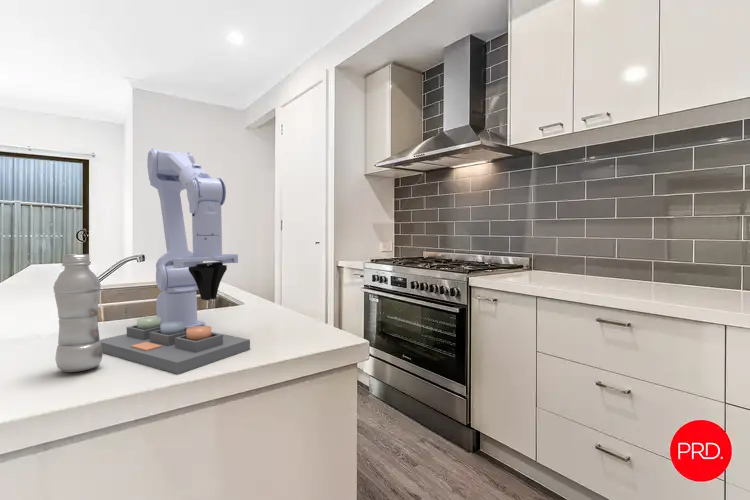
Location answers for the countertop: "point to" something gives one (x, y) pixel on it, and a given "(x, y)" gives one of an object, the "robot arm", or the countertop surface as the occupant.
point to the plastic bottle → (77, 315)
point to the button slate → (172, 327)
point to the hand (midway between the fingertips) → (208, 299)
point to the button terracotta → (198, 333)
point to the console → (172, 348)
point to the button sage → (148, 323)
